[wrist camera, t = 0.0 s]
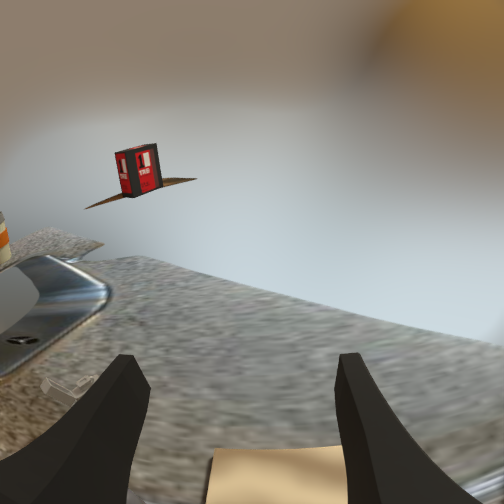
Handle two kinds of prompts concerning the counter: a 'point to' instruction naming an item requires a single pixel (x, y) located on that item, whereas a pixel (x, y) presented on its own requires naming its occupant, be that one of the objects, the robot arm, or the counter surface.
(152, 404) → the counter surface
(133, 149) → the cleaning product box
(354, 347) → the counter surface
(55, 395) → the lighter
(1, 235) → the reusable coffee cup
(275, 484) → the birch board
